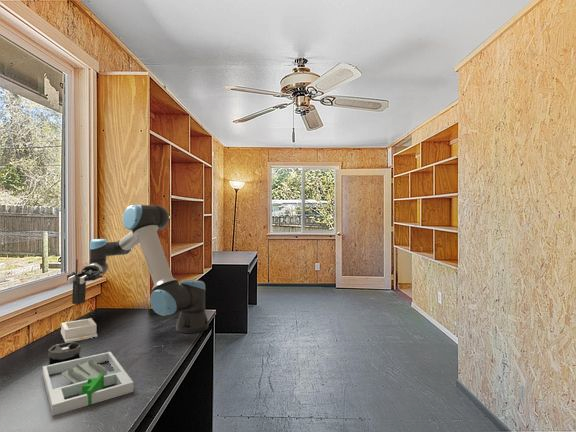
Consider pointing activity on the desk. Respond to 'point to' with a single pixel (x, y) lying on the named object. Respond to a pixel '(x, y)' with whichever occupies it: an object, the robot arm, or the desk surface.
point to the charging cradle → (78, 330)
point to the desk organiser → (58, 394)
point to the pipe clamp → (93, 386)
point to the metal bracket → (85, 372)
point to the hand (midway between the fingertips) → (74, 281)
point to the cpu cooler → (64, 352)
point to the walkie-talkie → (78, 289)
